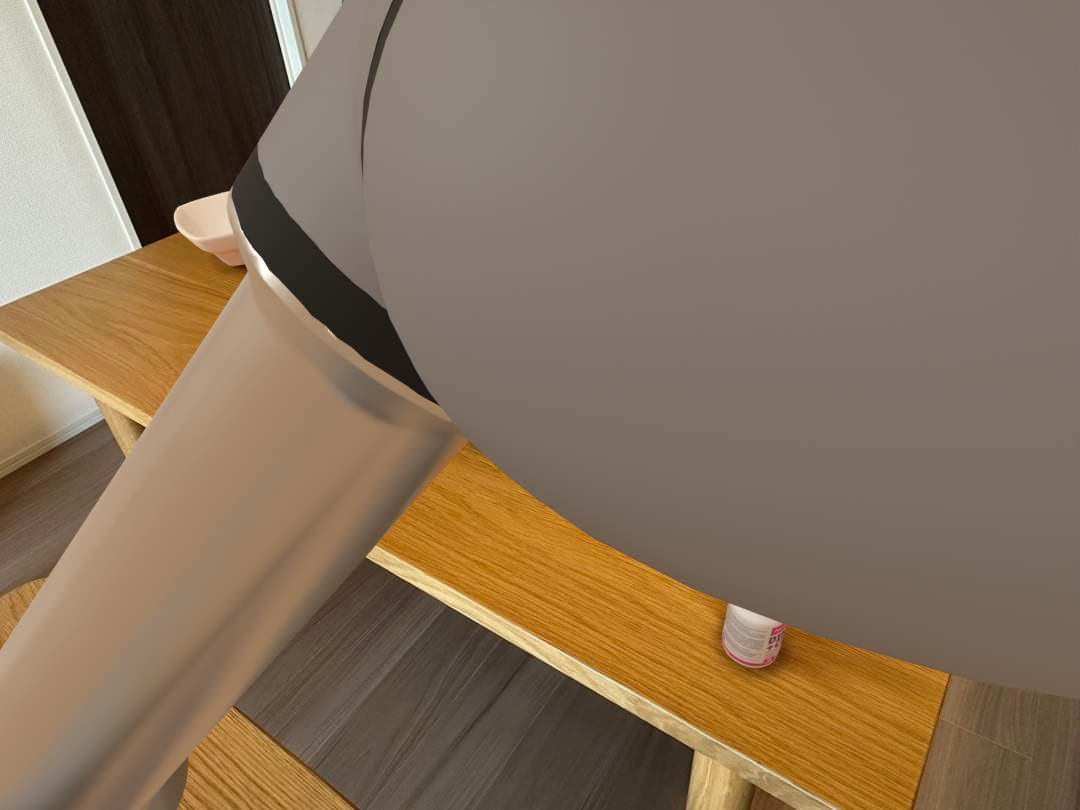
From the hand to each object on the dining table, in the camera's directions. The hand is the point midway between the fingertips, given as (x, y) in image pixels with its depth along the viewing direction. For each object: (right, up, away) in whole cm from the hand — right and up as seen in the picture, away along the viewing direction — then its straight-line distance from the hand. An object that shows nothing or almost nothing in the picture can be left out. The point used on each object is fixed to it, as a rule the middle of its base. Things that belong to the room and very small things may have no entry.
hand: (722, 489), depth 52 cm
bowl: (-66, +34, +74) cm, 105 cm away
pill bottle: (+4, -14, +7) cm, 16 cm away
